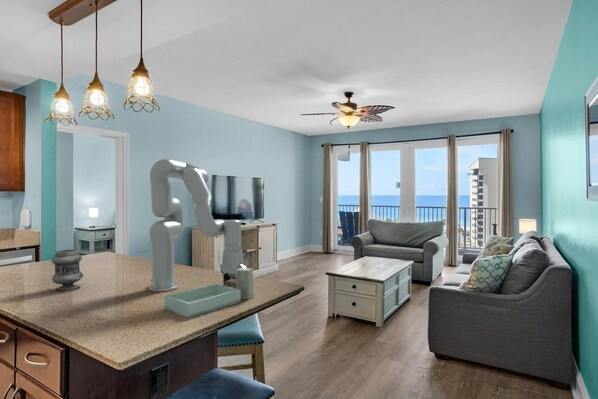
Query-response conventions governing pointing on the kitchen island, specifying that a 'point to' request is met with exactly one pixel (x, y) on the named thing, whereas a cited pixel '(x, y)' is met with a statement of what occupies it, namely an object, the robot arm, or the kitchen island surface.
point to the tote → (202, 300)
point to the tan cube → (231, 283)
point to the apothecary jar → (67, 269)
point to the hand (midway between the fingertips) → (233, 285)
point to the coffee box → (244, 252)
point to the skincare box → (245, 282)
